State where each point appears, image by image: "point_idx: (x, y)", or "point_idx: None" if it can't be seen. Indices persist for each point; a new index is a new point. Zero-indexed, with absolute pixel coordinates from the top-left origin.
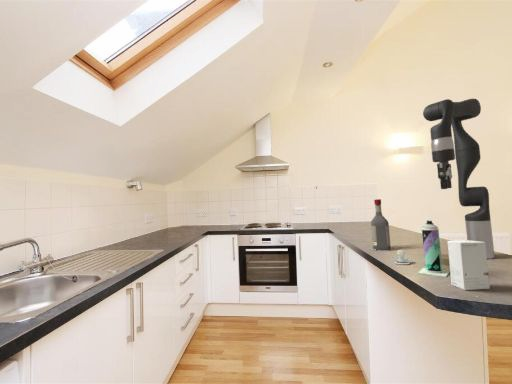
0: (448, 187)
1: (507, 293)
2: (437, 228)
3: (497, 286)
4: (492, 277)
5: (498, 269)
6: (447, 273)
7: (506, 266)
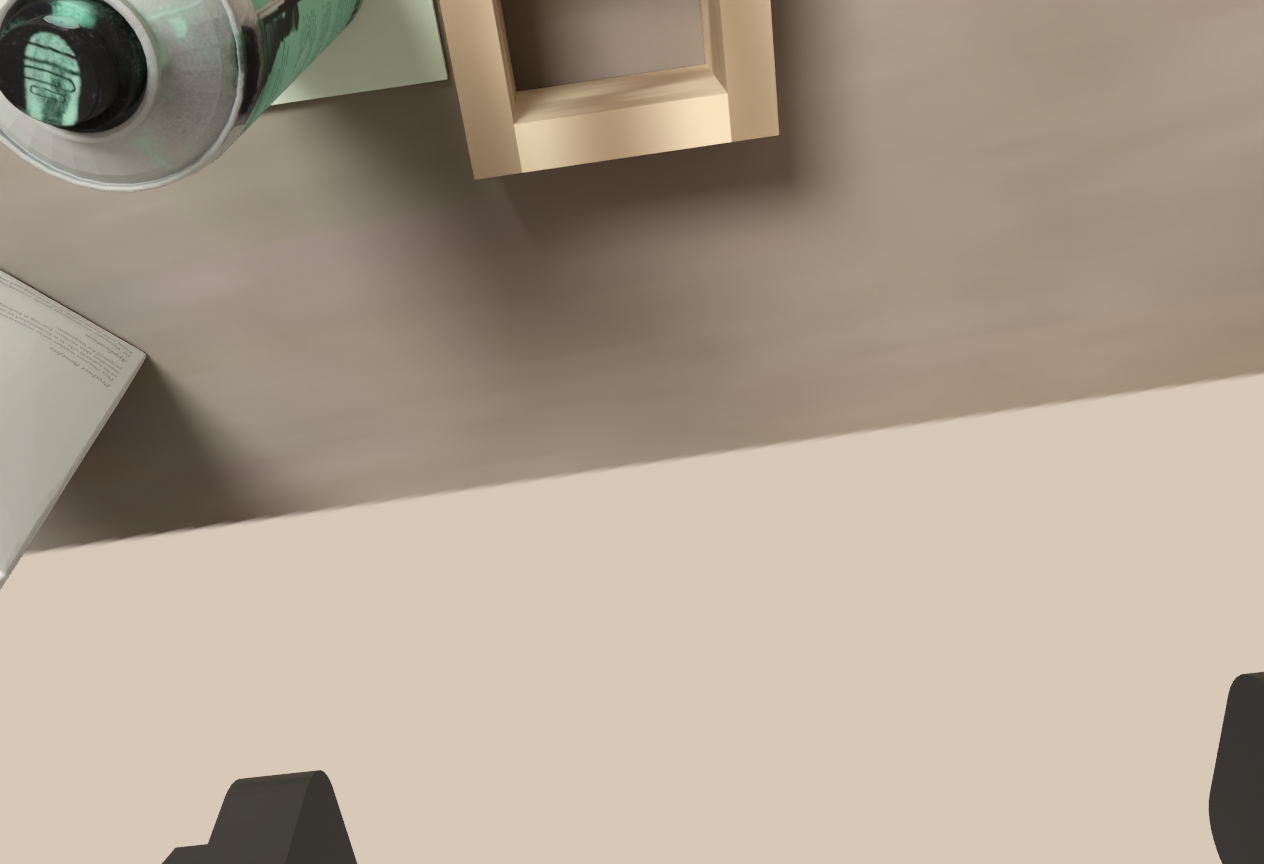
0: (1241, 782)
1: (71, 547)
2: (132, 180)
3: (207, 477)
4: (474, 403)
5: (825, 382)
6: (297, 98)
7: (995, 406)
